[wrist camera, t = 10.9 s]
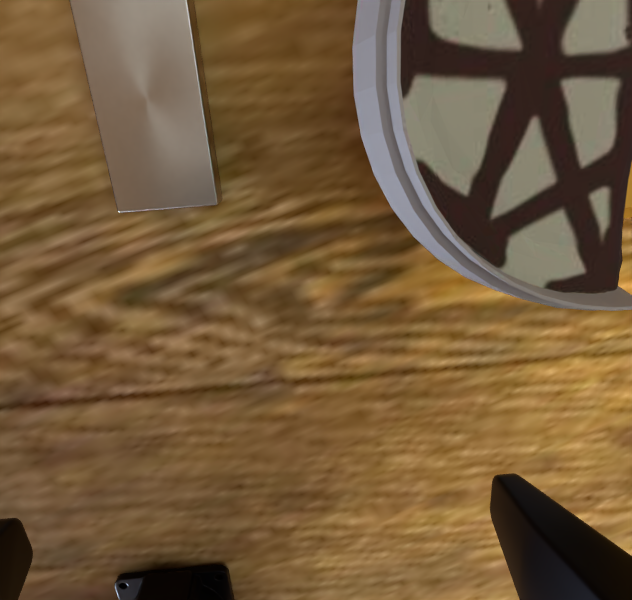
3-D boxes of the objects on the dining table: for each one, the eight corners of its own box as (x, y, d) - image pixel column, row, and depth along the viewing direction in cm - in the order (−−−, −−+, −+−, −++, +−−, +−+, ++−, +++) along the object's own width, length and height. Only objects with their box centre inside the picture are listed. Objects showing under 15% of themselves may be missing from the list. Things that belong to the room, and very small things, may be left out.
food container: (307, -87, 16) (326, -381, 7) (483, -113, 16) (753, -449, 7) (346, 253, 20) (390, 364, 11) (483, 234, 20) (643, 329, 11)
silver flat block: (222, 200, 19) (218, 205, 18) (127, 208, 19) (117, 213, 18) (190, -25, 16) (182, -36, 15) (78, -17, 16) (62, -27, 15)
